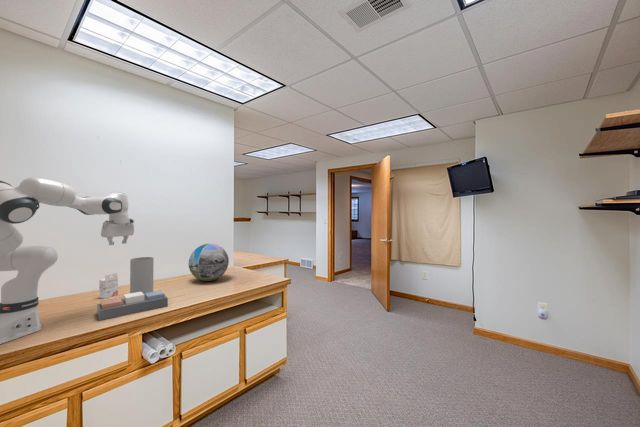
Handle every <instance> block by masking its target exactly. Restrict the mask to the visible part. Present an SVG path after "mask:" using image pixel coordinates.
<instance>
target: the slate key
mask: <svg viewBox="0 0 640 427" xmlns="http://www.w3.org/2000/svg"><path fill="white" fill-rule="evenodd" d="M164 295H165V293H164V291H162V290H155V291H153V292H149V293H145V299H146V300H147V301H148V300H153V299H158V298H163V297H164Z"/></svg>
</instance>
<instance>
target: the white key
mask: <svg viewBox="0 0 640 427" xmlns="http://www.w3.org/2000/svg"><path fill="white" fill-rule="evenodd" d="M123 300H124V303H125V305H127V304H132V303H137V302H142V301H144V294H143V293H142V292H135V293H130V292H129V293H124V294H123Z"/></svg>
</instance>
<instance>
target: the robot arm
mask: <svg viewBox="0 0 640 427" xmlns="http://www.w3.org/2000/svg"><path fill="white" fill-rule="evenodd" d="M128 198H129V197H128V195H127V194H126V193H123V192H119V191H112V192H111V193H110V194H108V195H104V196H82V197H81V196H77V192H76V190H75V188H74V187H73V186H71V185H69V184H67V183H64V182H60V181H57V180H55V179H54V180H53V179H49V178H42V177H37V176H35V177H34V176H33V177H32V176H31V177H26V178H24V179H23V180H22V181H21V182H20V183H19V185H18V186H16V187H13V186H12V184H10V183H8V182H6V181H3V180H0V272H11V271H15V272H16V271H17V275H16V277H13V278H11V279H9V280H8V281H6V282H4V283H3V284H2V285H1V288H0V345H1V344H5V343H9V342H10V341H14V340H16V339H20V338H22V337H25V336H28V335H30V334H31V335H32V334H33V333H37V332H39V331H41V330H42V327H43V324H42V322H41V320H40V315H39V308H38V306H39V297H38V286H39V280H40V279H41V276H42V275H43V274H44V273H45V272H46V271H47V270H48V269H50V268H51V267H52V266H54V265H55V264H56V262H57V261H58V257H59V255H58V252H57V250H56V249H55V248H54V247H51V246H50V247H49V246H46V245H45V246H43V245H28V246H27V245H25V246H24V245H23V246H22V244H23V241H24V237H23V235H22V234H21V233H20V231H19V229H17V227H16V226H15V225H14V224H16V225H17V224H23V223H25V222H26V221H28V220H30V219H31V218H32V217H34V216H35V214H36V213H37V210H39V208H40V204H44V205H47V206H48V205H49V206H54V207H68V208H70V209H75V210H76V211H79V212H80V213H82V214H84V215H86V216H90V215H91V216H93V215H94V216H95V215H108V220H105V221H104V222H103V223H102V226H101V231H100V237H102V238H106V239H107V242H108V245H109V246H115V241H113V238H116V237H123V240H121V244H127V242H128V239H129V236H133V235H134V233H135V225H134V223H135V220H134V219H133V218H131V217H129V214H128V209H129V199H128Z"/></svg>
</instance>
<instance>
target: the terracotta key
mask: <svg viewBox="0 0 640 427" xmlns="http://www.w3.org/2000/svg"><path fill="white" fill-rule="evenodd" d="M122 300H123V299H121V297H116V298H115V297H114V298H111V299H109V298H108V299H105V300H100V304H101V305H100V307H101V309H106V308H111V307H116V306H121V305H122Z"/></svg>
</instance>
